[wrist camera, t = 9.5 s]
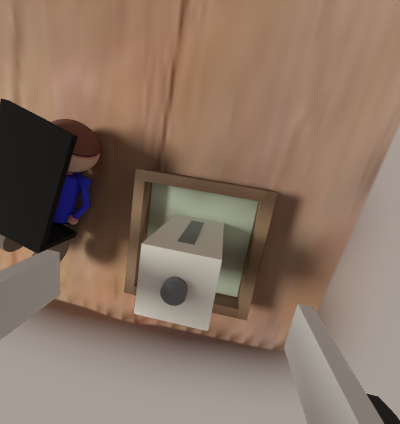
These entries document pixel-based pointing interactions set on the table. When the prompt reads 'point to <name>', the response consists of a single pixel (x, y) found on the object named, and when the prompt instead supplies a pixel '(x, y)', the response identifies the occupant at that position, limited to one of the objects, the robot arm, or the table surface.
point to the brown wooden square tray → (209, 210)
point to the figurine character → (42, 179)
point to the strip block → (180, 271)
